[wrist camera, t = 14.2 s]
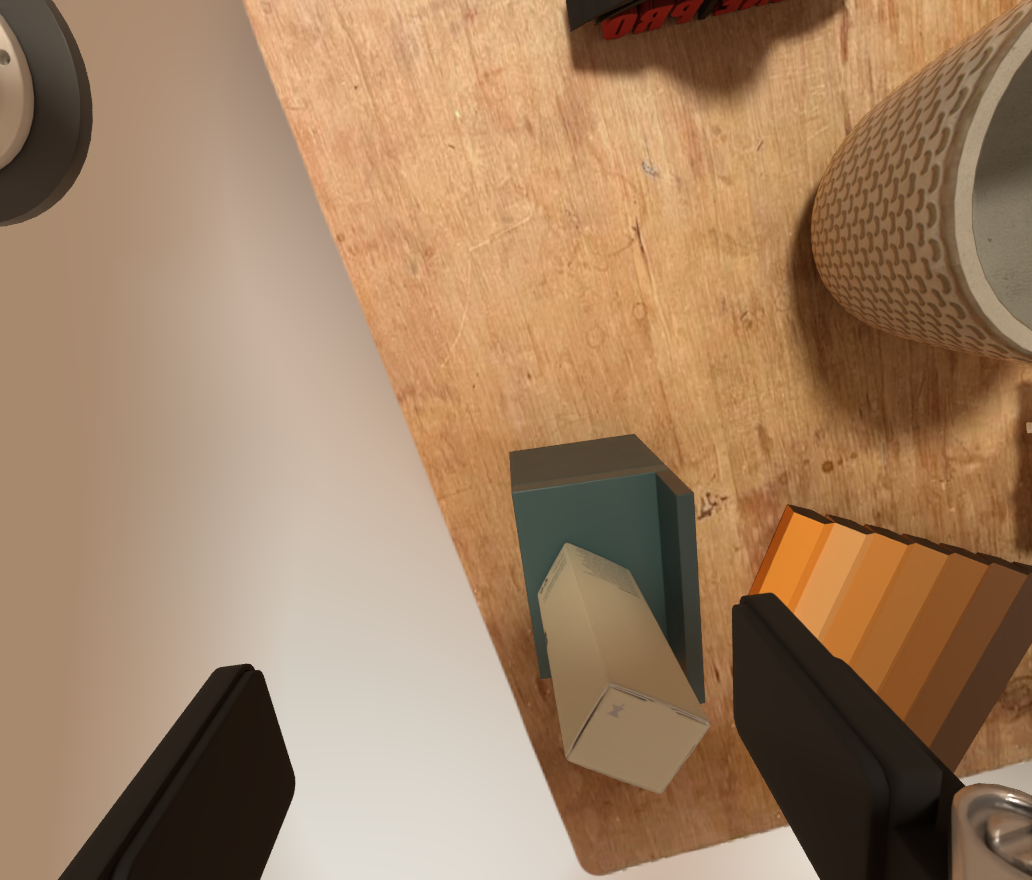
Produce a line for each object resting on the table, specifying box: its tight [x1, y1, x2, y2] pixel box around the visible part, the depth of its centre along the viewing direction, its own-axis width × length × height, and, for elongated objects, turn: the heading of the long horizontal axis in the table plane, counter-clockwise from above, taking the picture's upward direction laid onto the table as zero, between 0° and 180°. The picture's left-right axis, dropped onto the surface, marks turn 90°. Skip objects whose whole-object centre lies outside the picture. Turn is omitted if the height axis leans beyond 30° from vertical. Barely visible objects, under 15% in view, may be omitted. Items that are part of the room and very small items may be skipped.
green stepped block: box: [509, 434, 705, 704], centre depth 36 cm, size 10×14×13 cm
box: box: [538, 543, 711, 793], centre depth 28 cm, size 5×4×13 cm
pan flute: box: [749, 504, 1032, 773], centre depth 45 cm, size 25×3×25 cm
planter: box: [811, 0, 1032, 365], centre depth 29 cm, size 17×17×16 cm
